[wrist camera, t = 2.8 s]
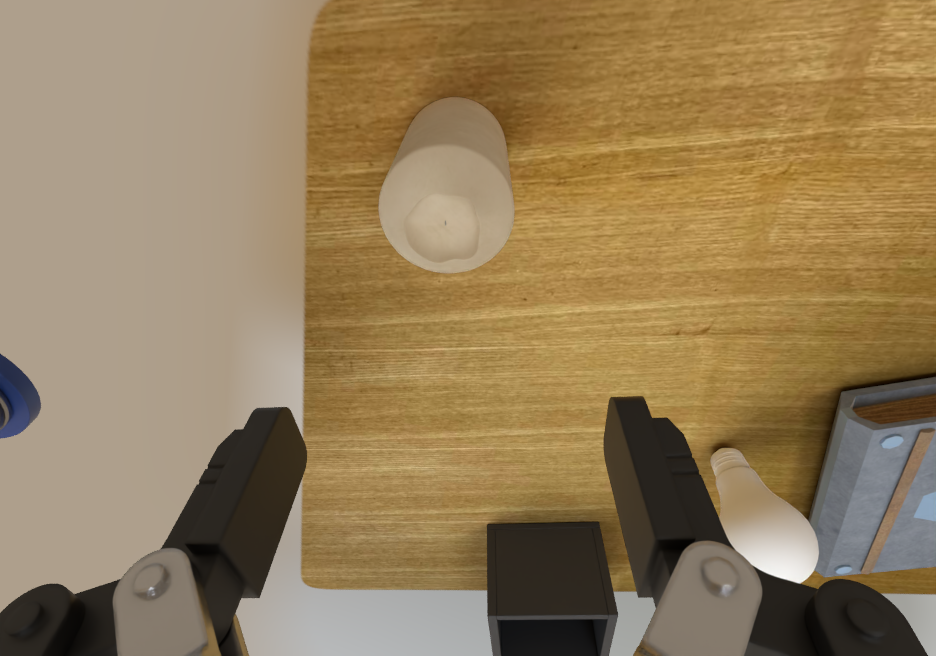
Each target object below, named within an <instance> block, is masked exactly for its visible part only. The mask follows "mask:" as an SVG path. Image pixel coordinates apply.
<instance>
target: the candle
mask: <svg viewBox="0 0 936 656" xmlns="http://www.w3.org/2000/svg"><path fill="white" fill-rule="evenodd" d="M379 217H380V222H381V225H382V229H383V231H384V233H385V235H386V237H387V239H388V240H389V242H390V244H391V245H392V246H393V247H394V249H395V250H396V251H397V252H398V253H399V254H400V255H401V256H403V257H404V258H405V259H406V260H408V261H409V262H411V263H413V264H414V265H416V266H419V267H421V268H423V269H426V270H429V271H433V272H438V273H459V272H465V271H469V270H472V269H475V268H477V267H479V266H481V265H483V264H485V263H486V262H488V261H489V260H491V259H492V258H493V257H494V256H495V255H496V254H497V253H498V252H499V251H500V250H501V249H502V248H503V246H504V245H505V243H506V241H507V240H508V237H509V235H510V233H511V230H512V227H513V222H514V200H513V192H512V184H511V177H510V169H509V161H508V153H507V145H506V140H505V136H504V133H503V130H502V128H501V126H500V124H499V122H498V121H497V119H496V118H495V117H494V115H493V114H492V113H491V112H490V111H489V110H488V109H486V108H485V107H484V106H482V105H481V104H479V103H477V102H475V101H473V100H470V99H466V98H461V97H448V98H443V99H440V100H437V101H435V102H433V103H431V104H429V105H427V106H426V107H425V108H423V109H422V110H421V111H420V112H419V113H418V114H417V115H416V117H415V118H414V119H413V121H412V123H411V124H410V126H409V128H408V130H407V132H406V135H405V137H404V139H403V141H402V143H401V145H400V148H399V150H398V152H397V154H396V156H395V159H394V161H393V163H392V165H391V167H390V170H389V172H388V174H387V176H386V178H385V181H384V183H383V185H382V188H381V192H380V196H379Z"/></svg>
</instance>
